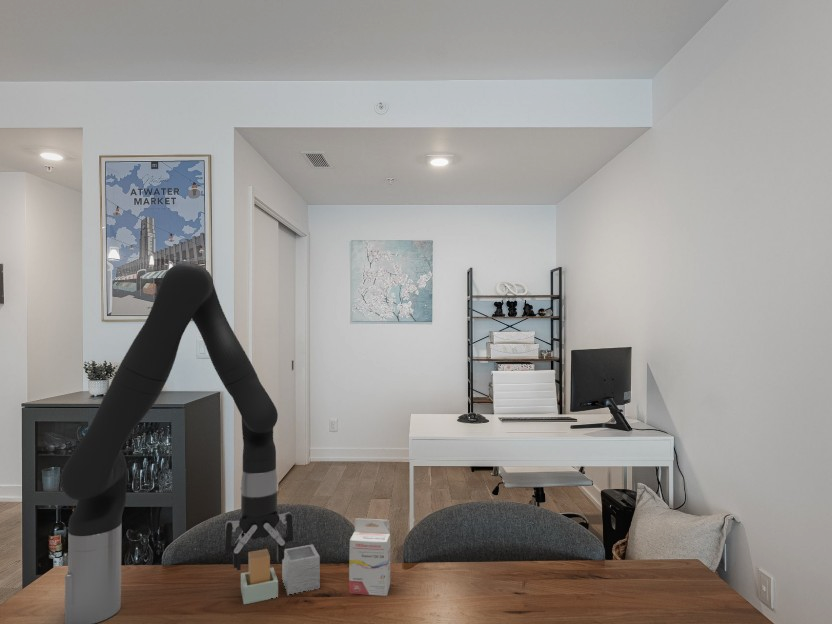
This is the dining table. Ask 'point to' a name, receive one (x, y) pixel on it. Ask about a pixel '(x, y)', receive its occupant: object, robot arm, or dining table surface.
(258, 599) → the lower socket
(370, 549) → the ink cartridge box
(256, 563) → the plug
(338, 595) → the dining table surface
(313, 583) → the upper socket
